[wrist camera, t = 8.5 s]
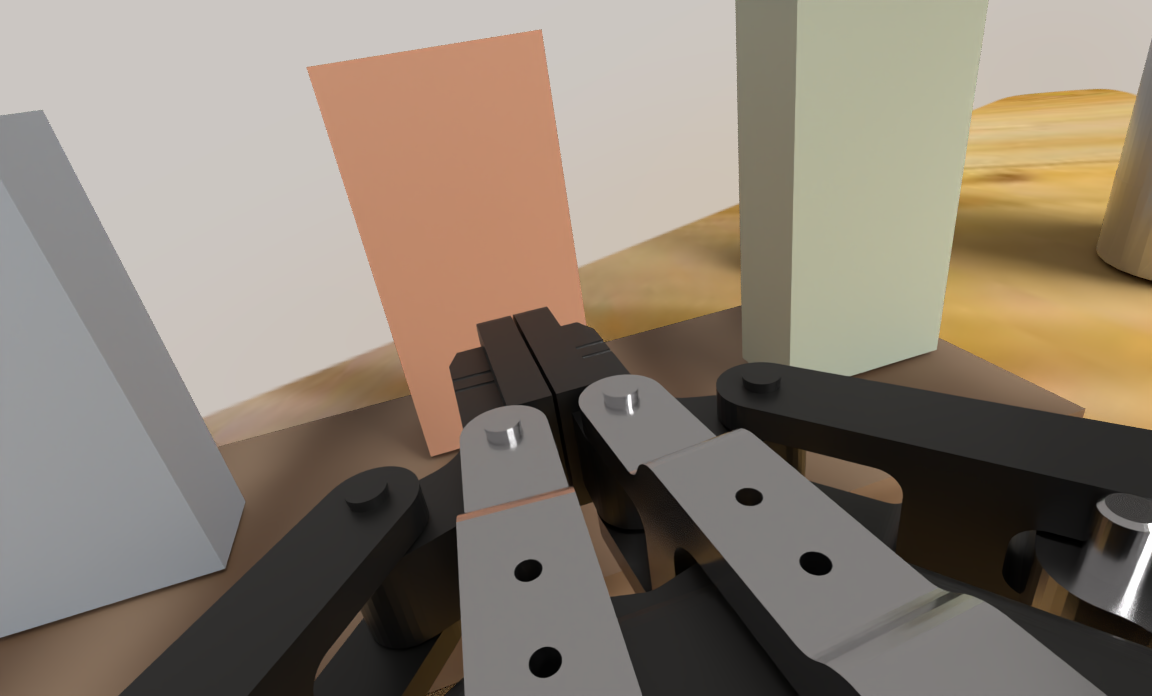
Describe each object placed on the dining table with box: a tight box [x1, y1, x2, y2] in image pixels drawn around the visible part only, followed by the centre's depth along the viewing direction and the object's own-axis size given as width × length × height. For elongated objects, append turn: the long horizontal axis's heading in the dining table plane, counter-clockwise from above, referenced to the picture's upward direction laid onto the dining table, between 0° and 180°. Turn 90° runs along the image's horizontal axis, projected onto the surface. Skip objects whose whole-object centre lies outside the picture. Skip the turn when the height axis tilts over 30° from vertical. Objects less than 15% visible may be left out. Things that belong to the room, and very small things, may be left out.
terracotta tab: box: [307, 30, 586, 457], centre depth 19 cm, size 6×3×12 cm, turn 107°
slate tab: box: [0, 110, 245, 638], centre depth 15 cm, size 6×3×12 cm, turn 107°
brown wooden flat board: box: [0, 305, 1085, 696], centre depth 21 cm, size 32×12×2 cm, turn 107°
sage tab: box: [736, 0, 989, 376], centre depth 20 cm, size 6×3×12 cm, turn 107°
